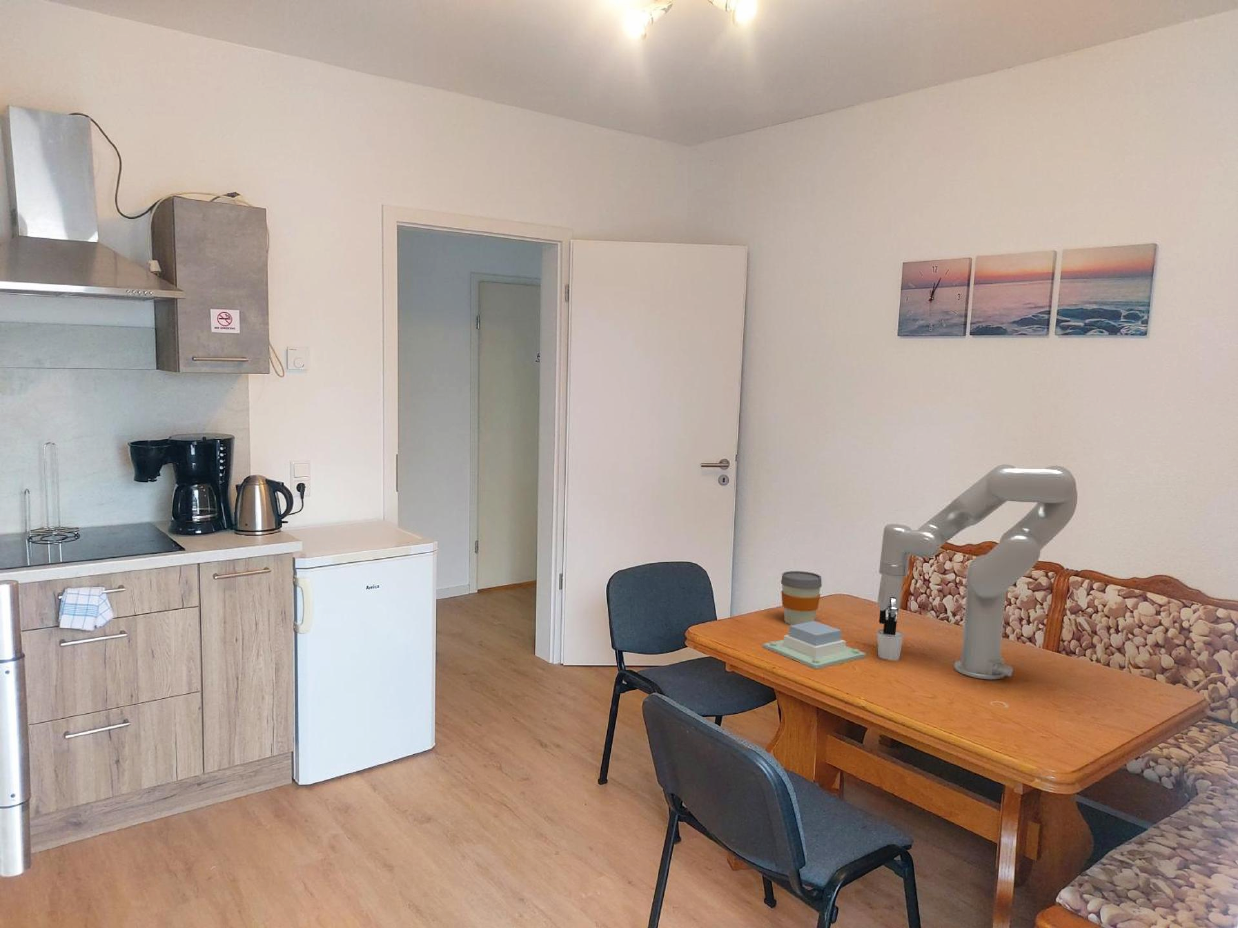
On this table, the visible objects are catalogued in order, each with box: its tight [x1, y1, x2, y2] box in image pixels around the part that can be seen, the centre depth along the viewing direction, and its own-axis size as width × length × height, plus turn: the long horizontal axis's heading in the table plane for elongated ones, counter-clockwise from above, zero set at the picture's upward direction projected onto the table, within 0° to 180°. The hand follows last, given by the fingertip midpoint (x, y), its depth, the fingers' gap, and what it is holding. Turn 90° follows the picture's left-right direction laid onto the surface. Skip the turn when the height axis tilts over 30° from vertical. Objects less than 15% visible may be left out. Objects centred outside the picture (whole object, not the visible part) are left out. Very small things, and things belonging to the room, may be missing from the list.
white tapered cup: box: [877, 629, 904, 661], centre depth 232 cm, size 7×7×7 cm
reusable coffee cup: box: [780, 570, 823, 626], centre depth 262 cm, size 13×13×15 cm
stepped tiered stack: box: [762, 620, 867, 670], centre depth 234 cm, size 20×20×7 cm
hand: (886, 628), depth 232 cm, fingers open, 9 cm apart
